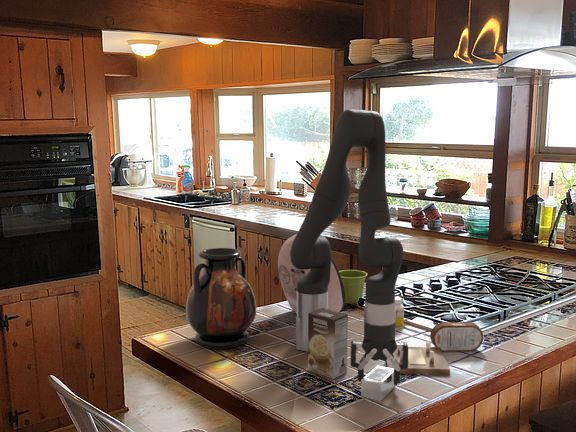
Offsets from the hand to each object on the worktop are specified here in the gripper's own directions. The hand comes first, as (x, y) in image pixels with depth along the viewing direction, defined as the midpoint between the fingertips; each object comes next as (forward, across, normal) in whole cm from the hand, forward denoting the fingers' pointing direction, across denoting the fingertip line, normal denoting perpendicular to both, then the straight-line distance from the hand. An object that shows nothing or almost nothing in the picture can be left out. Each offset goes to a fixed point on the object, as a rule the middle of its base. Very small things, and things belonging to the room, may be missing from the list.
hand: (378, 383), depth 144 cm
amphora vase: (+2, -46, +32) cm, 56 cm away
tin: (+2, +24, +29) cm, 38 cm away
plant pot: (+2, -6, +76) cm, 76 cm away
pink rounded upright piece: (+2, -20, +57) cm, 60 cm away
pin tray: (+2, +11, +19) cm, 22 cm away
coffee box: (+2, -13, +11) cm, 17 cm away
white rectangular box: (+2, 0, 0) cm, 2 cm away
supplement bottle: (+2, +8, +49) cm, 50 cm away
